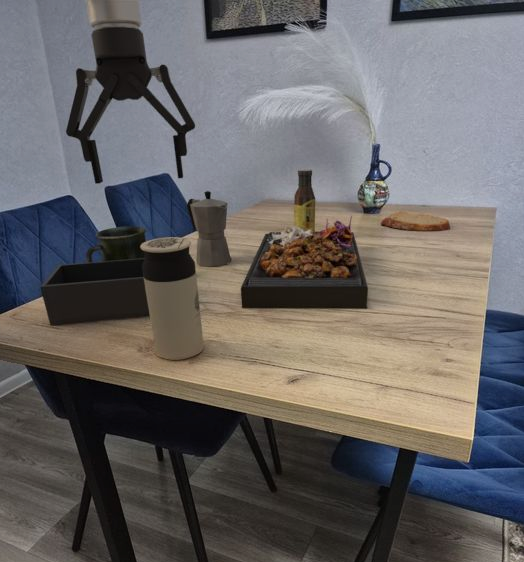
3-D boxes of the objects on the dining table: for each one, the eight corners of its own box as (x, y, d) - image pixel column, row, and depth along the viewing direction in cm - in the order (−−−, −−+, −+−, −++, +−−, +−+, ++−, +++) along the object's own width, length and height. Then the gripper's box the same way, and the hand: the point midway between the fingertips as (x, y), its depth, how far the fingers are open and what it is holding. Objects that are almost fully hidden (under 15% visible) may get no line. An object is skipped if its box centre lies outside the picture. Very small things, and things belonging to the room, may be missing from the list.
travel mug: (148, 360, 76) (129, 249, 67) (165, 339, 83) (150, 236, 74) (196, 362, 74) (183, 249, 66) (209, 340, 81) (198, 236, 73)
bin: (50, 325, 90) (40, 286, 87) (66, 299, 103) (58, 264, 100) (164, 314, 93) (158, 276, 89) (166, 290, 106) (161, 256, 102)
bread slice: (454, 229, 147) (456, 216, 145) (402, 234, 143) (403, 222, 141) (424, 218, 162) (425, 207, 161) (376, 223, 159) (376, 211, 157)
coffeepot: (243, 262, 123) (239, 190, 115) (216, 270, 118) (209, 196, 109) (206, 252, 133) (200, 186, 125) (179, 260, 127) (171, 191, 119)
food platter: (265, 249, 134) (264, 212, 130) (353, 248, 131) (354, 210, 127) (242, 307, 94) (238, 257, 90) (366, 308, 92) (370, 256, 87)
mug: (162, 281, 112) (154, 230, 107) (104, 297, 103) (93, 242, 98) (139, 271, 119) (132, 224, 114) (84, 286, 111) (73, 235, 105)
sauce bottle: (308, 243, 138) (309, 171, 129) (290, 241, 141) (289, 171, 132) (318, 238, 143) (319, 168, 134) (300, 236, 146) (300, 168, 137)
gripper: (201, 30, 74) (213, 172, 84) (38, 36, 72) (70, 181, 82) (200, 21, 67) (214, 177, 77) (21, 28, 66) (58, 187, 75)
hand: (140, 180), depth 79 cm, fingers open, 13 cm apart
